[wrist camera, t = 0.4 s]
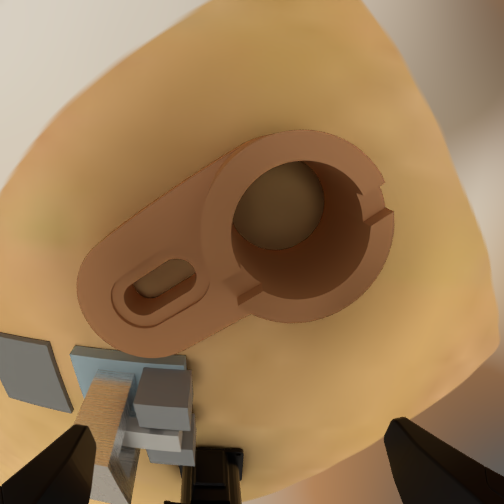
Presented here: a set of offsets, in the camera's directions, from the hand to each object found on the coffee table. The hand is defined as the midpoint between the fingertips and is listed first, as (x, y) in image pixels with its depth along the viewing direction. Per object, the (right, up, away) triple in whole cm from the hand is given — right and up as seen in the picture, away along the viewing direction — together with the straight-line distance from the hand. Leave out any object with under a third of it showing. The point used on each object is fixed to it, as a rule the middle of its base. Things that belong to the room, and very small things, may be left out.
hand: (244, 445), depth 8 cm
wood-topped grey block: (-10, -6, +14) cm, 18 cm away
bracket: (-2, +6, +12) cm, 14 cm away
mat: (-20, -5, +14) cm, 25 cm away
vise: (-9, -6, +15) cm, 19 cm away
